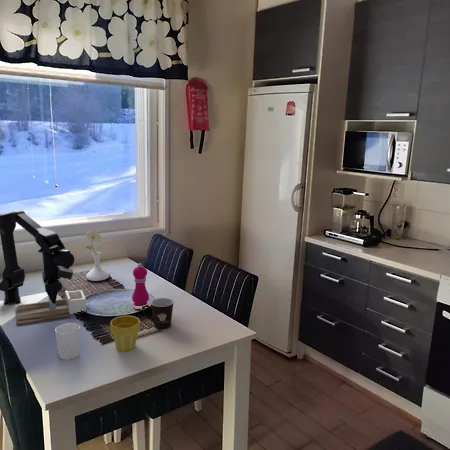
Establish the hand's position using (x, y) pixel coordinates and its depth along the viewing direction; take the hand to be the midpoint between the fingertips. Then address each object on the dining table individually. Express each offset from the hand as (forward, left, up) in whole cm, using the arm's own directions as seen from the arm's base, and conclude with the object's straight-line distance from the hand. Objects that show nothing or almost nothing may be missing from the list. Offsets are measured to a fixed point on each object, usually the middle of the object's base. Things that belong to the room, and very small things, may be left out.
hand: (53, 299), depth 184 cm
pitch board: (0, -4, -6) cm, 7 cm away
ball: (0, +7, -4) cm, 8 cm away
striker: (0, 0, -4) cm, 4 cm away
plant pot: (+42, +20, -6) cm, 47 cm away
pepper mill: (+10, +34, -6) cm, 36 cm away
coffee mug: (+30, +36, -6) cm, 47 cm away
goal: (0, +8, -6) cm, 10 cm away
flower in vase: (-34, +23, -6) cm, 42 cm away
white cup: (+40, +1, -6) cm, 40 cm away
